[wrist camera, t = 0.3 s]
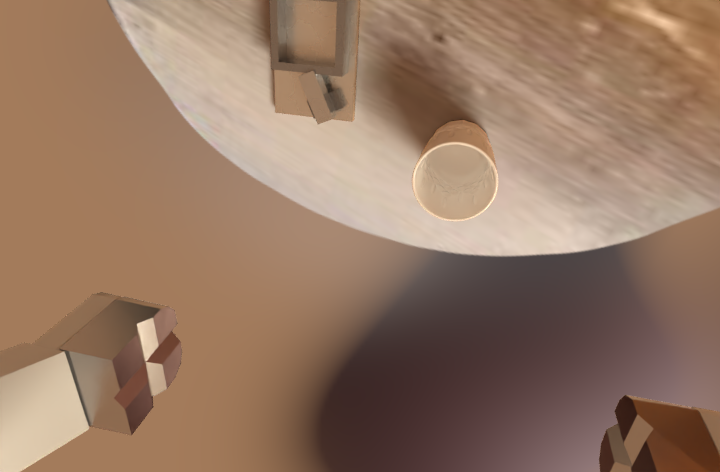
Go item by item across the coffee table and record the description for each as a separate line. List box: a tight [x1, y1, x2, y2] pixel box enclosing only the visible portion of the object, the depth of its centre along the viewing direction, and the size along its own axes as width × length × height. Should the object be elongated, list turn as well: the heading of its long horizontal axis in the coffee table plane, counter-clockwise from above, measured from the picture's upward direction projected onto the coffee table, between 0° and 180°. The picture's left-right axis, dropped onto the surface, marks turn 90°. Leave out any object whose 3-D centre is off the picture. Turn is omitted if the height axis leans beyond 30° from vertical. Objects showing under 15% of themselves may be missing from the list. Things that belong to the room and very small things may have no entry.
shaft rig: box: [269, 0, 360, 124], centre depth 50 cm, size 18×9×4 cm, turn 177°
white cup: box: [412, 120, 498, 221], centre depth 50 cm, size 8×8×10 cm
